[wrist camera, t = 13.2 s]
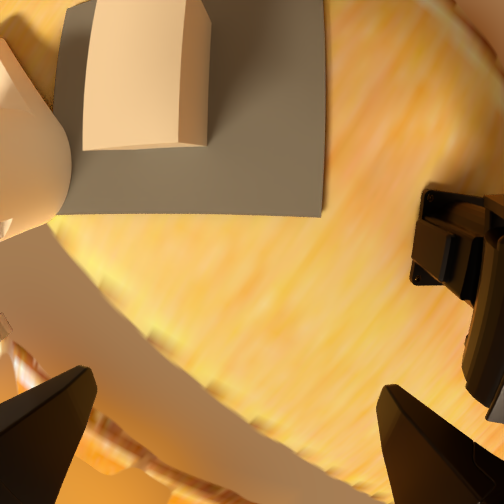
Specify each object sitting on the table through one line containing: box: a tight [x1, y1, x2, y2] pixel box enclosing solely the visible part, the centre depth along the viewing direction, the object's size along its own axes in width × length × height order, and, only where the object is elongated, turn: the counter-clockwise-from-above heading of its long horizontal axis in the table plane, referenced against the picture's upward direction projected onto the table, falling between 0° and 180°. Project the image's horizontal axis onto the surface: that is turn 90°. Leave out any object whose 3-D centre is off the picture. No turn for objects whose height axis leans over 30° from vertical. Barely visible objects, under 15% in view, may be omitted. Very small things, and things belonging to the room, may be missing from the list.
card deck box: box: [83, 0, 212, 151], centre depth 13 cm, size 8×4×6 cm, turn 179°
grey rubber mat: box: [53, 0, 326, 218], centre depth 16 cm, size 18×16×1 cm
